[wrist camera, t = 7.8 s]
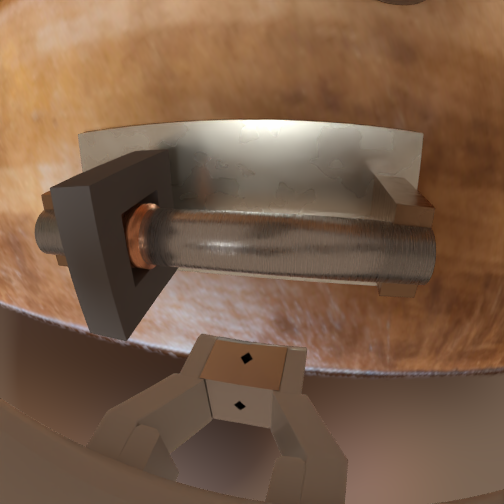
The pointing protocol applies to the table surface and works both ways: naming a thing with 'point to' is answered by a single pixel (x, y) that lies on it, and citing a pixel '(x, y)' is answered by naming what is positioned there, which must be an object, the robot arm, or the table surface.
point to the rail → (275, 202)
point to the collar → (112, 238)
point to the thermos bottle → (402, 1)
